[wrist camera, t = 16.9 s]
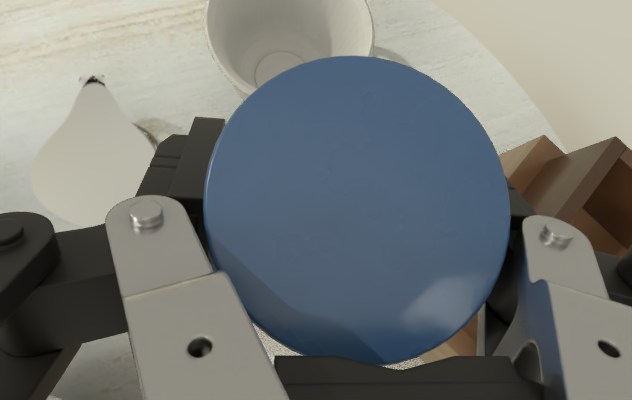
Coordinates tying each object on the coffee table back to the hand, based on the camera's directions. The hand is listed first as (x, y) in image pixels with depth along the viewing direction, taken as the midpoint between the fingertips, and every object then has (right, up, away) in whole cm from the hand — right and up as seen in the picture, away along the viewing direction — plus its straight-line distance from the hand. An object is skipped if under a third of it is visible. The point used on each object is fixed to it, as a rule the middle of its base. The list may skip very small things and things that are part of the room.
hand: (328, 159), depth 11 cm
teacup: (-3, +11, +28) cm, 30 cm away
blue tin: (-1, -3, +7) cm, 7 cm away
